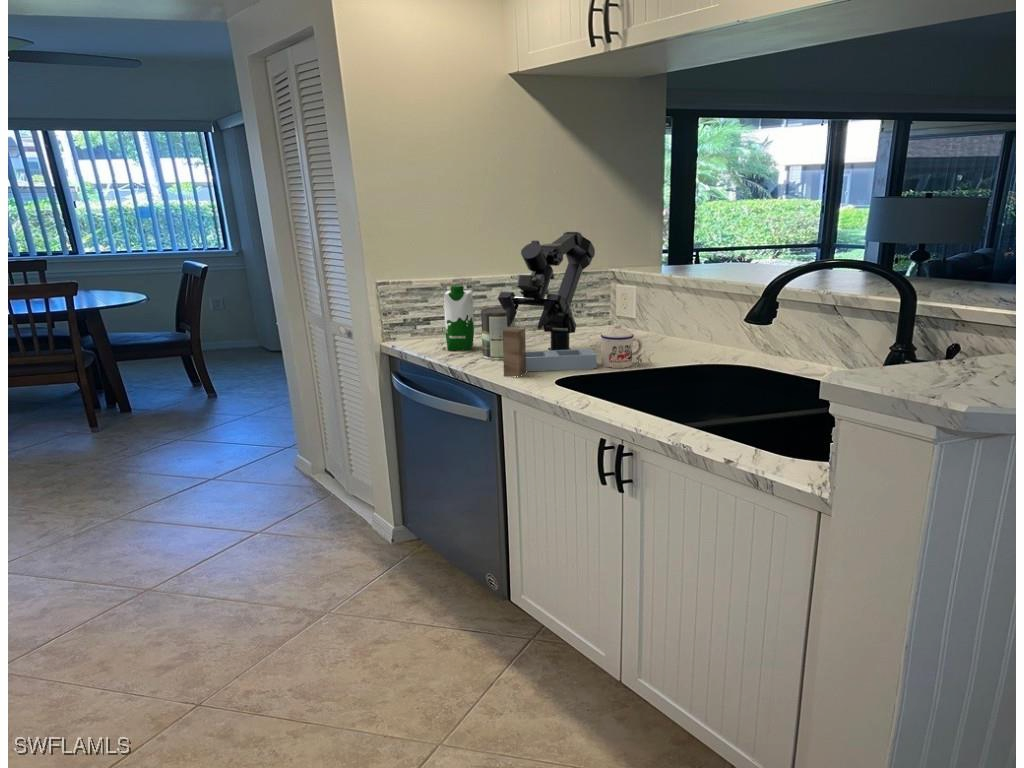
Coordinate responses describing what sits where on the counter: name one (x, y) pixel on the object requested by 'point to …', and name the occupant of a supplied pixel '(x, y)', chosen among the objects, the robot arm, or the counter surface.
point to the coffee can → (493, 332)
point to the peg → (514, 351)
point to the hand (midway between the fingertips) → (523, 327)
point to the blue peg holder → (561, 360)
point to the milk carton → (459, 318)
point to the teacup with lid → (618, 347)
